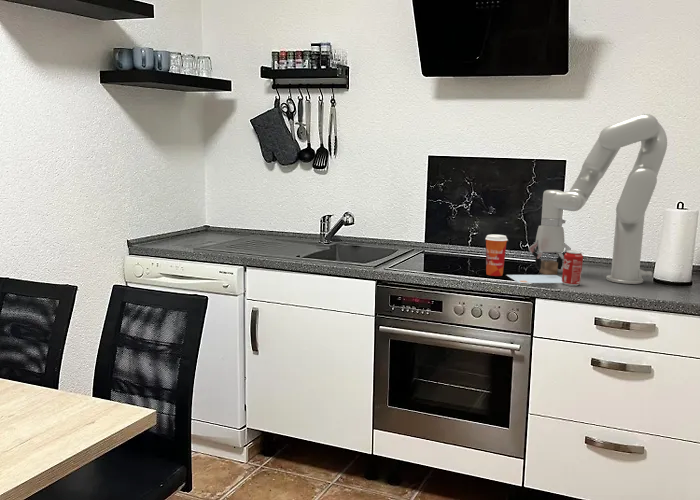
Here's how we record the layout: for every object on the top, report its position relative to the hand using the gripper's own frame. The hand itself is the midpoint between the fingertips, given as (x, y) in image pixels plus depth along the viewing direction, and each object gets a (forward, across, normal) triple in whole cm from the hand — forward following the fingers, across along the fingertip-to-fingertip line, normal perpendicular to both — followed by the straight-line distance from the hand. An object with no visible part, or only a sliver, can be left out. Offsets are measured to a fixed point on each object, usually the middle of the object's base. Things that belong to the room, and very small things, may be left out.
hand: (548, 268), depth 266 cm
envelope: (+2, +8, +11) cm, 14 cm away
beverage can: (+2, 0, +21) cm, 21 cm away
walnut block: (+2, 0, 0) cm, 2 cm away
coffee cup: (+2, +22, +3) cm, 22 cm away
